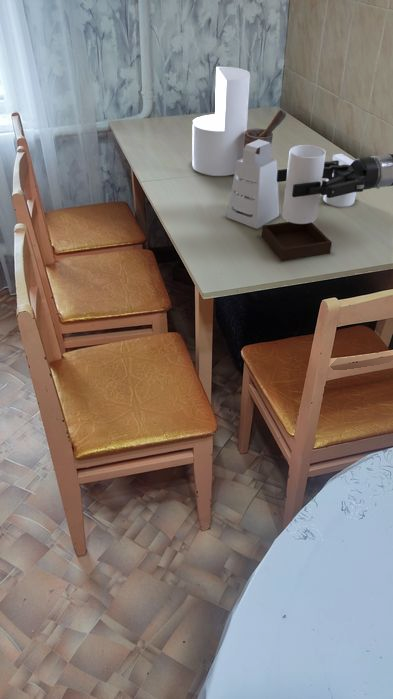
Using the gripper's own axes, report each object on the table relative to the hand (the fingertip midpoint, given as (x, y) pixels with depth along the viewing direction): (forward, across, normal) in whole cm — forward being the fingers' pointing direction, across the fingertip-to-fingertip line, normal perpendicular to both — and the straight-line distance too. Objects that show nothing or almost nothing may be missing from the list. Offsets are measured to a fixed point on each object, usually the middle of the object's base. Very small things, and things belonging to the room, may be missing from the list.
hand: (285, 183), depth 126 cm
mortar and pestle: (-14, +46, -17) cm, 51 cm away
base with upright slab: (-29, +21, -17) cm, 39 cm away
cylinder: (-3, +56, -17) cm, 59 cm away
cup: (-5, 0, -9) cm, 10 cm away
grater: (0, +18, -17) cm, 25 cm away
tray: (-5, 0, -17) cm, 17 cm away
